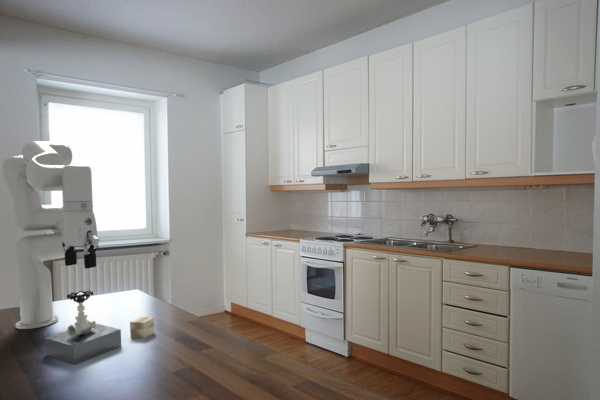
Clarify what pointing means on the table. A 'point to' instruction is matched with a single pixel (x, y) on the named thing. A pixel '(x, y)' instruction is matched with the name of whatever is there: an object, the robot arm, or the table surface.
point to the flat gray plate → (83, 344)
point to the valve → (80, 315)
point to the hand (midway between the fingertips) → (80, 266)
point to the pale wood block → (142, 327)
